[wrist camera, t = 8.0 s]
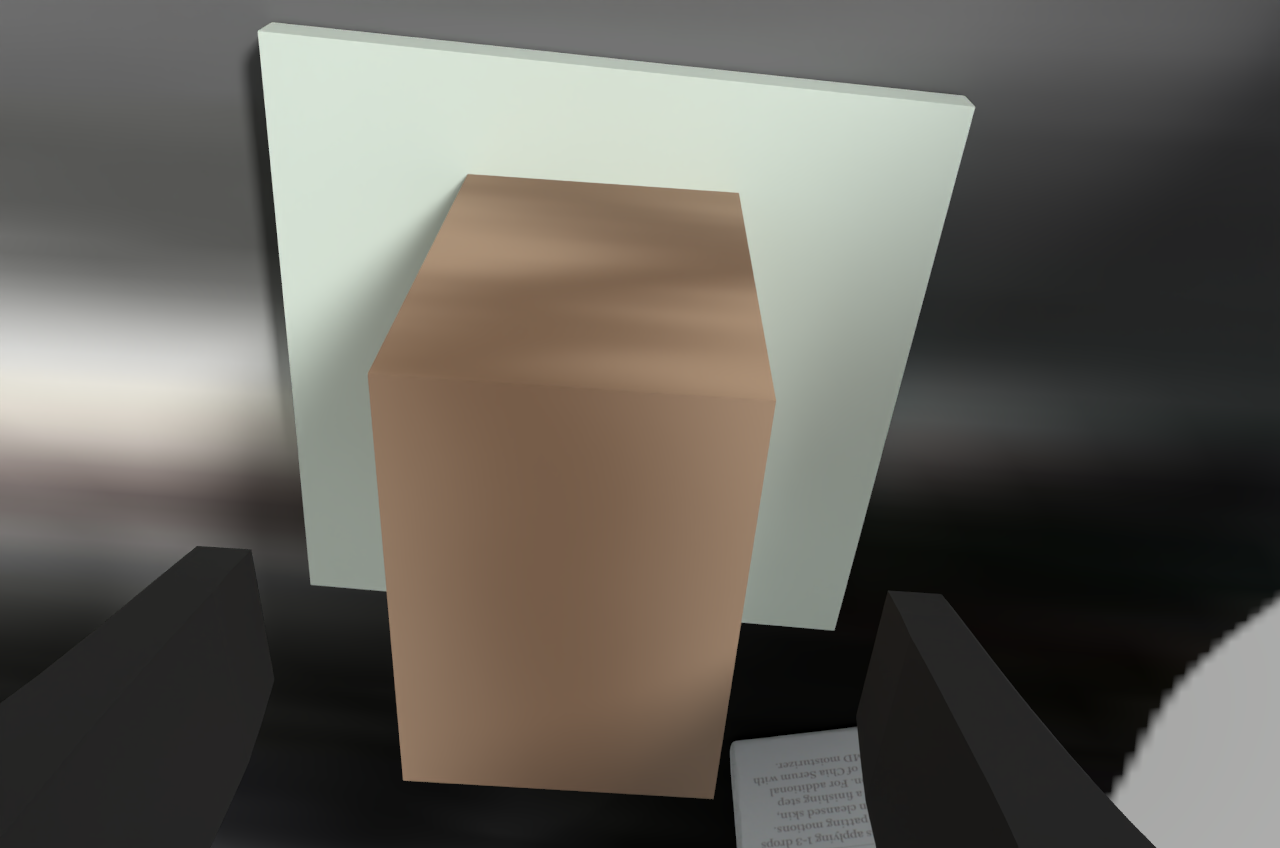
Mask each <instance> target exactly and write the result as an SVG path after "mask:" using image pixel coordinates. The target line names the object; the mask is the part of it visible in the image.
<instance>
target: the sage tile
mask: <svg viewBox="0 0 1280 848" xmlns="http://www.w3.org/2000/svg"><path fill="white" fill-rule="evenodd" d="M258 38H259V49H260V59H261V70H262V80H263V91H264V101H265V112H266V122H267V133H268V143H269V154H270V164H271V175H272V185H273V196H274V206H275V217H276V227H277V238H278V248H279V259H280V269H281V279H282V290H283V300H284V311H285V321H286V332H287V342H288V353H289V363H290V374H291V384H292V395H293V405H294V416H295V426H296V437H297V447H298V458H299V468H300V479H301V489H302V500H303V510H304V521H305V531H306V541H307V552H308V562H309V573H310V583H311V585H319V586H330V587H342V588H353V589H364V590H376V591H387V590H386V579H385V568H384V556H383V545H382V533H381V522H380V510H379V499H378V488H377V476H376V465H375V453H374V442H373V431H372V419H371V408H370V396H369V385H368V372H369V370H370V368H371V366H372V364H373V362H374V360H375V358H376V356H377V354H378V352H379V350H380V348H381V346H382V344H383V342H384V340H385V338H386V336H387V334H388V332H389V330H390V328H391V326H392V324H393V322H394V320H395V318H396V316H397V314H398V312H399V310H400V308H401V306H402V304H403V302H404V300H405V298H406V296H407V294H408V292H409V290H410V288H411V286H412V284H413V282H414V280H415V278H416V276H417V274H418V272H419V270H420V268H421V266H422V264H423V262H424V260H425V258H426V256H427V254H428V252H429V250H430V248H431V246H432V244H433V242H434V240H435V238H436V236H437V234H438V232H439V230H440V228H441V226H442V224H443V222H444V220H445V218H446V216H447V214H448V212H449V210H450V208H451V206H452V204H453V202H454V200H455V198H456V196H457V194H458V192H459V190H460V188H461V186H462V184H463V182H464V180H465V178H466V176H467V174H476V175H490V176H504V177H519V178H533V179H547V180H562V181H576V182H590V183H605V184H619V185H634V186H648V187H662V188H677V189H691V190H705V191H720V192H734V193H739V197H740V202H741V208H742V213H743V219H744V224H745V230H746V236H747V241H748V247H749V252H750V258H751V263H752V269H753V275H754V280H755V286H756V291H757V297H758V302H759V308H760V314H761V319H762V325H763V330H764V336H765V341H766V347H767V353H768V358H769V364H770V369H771V375H772V380H773V386H774V392H775V397H776V405H775V411H774V417H773V424H772V430H771V437H770V443H769V449H768V456H767V462H766V468H765V475H764V481H763V487H762V494H761V500H760V506H759V513H758V519H757V526H756V532H755V538H754V545H753V551H752V557H751V564H750V570H749V576H748V583H747V589H746V595H745V602H744V608H743V614H742V621H741V623H753V624H764V625H776V626H787V627H798V628H810V629H821V630H833V631H834V630H835V627H836V623H837V619H838V615H839V612H840V608H841V604H842V601H843V597H844V593H845V589H846V586H847V582H848V578H849V574H850V571H851V567H852V563H853V560H854V556H855V552H856V548H857V545H858V541H859V537H860V534H861V530H862V526H863V522H864V519H865V515H866V511H867V508H868V504H869V500H870V496H871V493H872V489H873V485H874V481H875V478H876V474H877V470H878V467H879V463H880V459H881V455H882V452H883V448H884V444H885V441H886V437H887V433H888V429H889V426H890V422H891V418H892V415H893V411H894V407H895V403H896V400H897V396H898V392H899V389H900V385H901V381H902V377H903V374H904V370H905V366H906V362H907V359H908V355H909V351H910V348H911V344H912V340H913V336H914V333H915V329H916V325H917V322H918V318H919V314H920V310H921V307H922V303H923V299H924V296H925V292H926V288H927V284H928V281H929V277H930V273H931V269H932V266H933V262H934V258H935V255H936V251H937V247H938V243H939V240H940V236H941V232H942V229H943V225H944V221H945V217H946V214H947V210H948V206H949V203H950V199H951V195H952V191H953V188H954V184H955V180H956V176H957V173H958V169H959V165H960V162H961V158H962V154H963V150H964V147H965V143H966V139H967V136H968V132H969V128H970V124H971V121H972V117H973V113H974V110H975V106H974V105H973V104H972V103H971V102H970V101H969V100H968V99H967V98H966V97H965V96H962V95H952V94H943V93H934V92H924V91H915V90H905V89H896V88H886V87H877V86H868V85H858V84H849V83H839V82H830V81H820V80H811V79H802V78H792V77H783V76H773V75H764V74H755V73H745V72H736V71H726V70H717V69H707V68H698V67H689V66H679V65H670V64H660V63H651V62H642V61H632V60H623V59H613V58H604V57H594V56H585V55H576V54H566V53H557V52H547V51H538V50H529V49H519V48H510V47H500V46H491V45H481V44H472V43H463V42H453V41H444V40H434V39H425V38H416V37H406V36H397V35H387V34H378V33H368V32H359V31H350V30H340V29H331V28H321V27H312V26H303V25H293V24H284V23H274V22H272V23H270V24H268V25H267V26H265V27H263V28H262V29H260V30H259V31H258Z"/></svg>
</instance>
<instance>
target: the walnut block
mask: <svg viewBox="0 0 1280 848" xmlns="http://www.w3.org/2000/svg"><path fill="white" fill-rule="evenodd" d="M368 385H369V396H370V408H371V419H372V431H373V442H374V453H375V465H376V476H377V488H378V499H379V510H380V522H381V533H382V545H383V556H384V568H385V579H386V590H387V602H388V613H389V625H390V636H391V647H392V659H393V670H394V682H395V693H396V705H397V716H398V727H399V739H400V750H401V762H402V773H403V781H420V782H436V783H453V784H470V785H487V786H504V787H520V788H537V789H554V790H571V791H587V792H604V793H621V794H638V795H654V796H671V797H688V798H705V799H714V792H715V786H716V780H717V773H718V767H719V761H720V754H721V748H722V742H723V735H724V729H725V722H726V716H727V710H728V703H729V697H730V691H731V684H732V678H733V672H734V665H735V659H736V653H737V646H738V640H739V634H740V627H741V621H742V614H743V608H744V602H745V595H746V589H747V583H748V576H749V570H750V564H751V557H752V551H753V545H754V538H755V532H756V526H757V519H758V513H759V506H760V500H761V494H762V487H763V481H764V475H765V468H766V462H767V456H768V449H769V443H770V437H771V430H772V424H773V417H774V411H775V405H776V397H775V392H774V386H773V380H772V375H771V369H770V364H769V358H768V353H767V347H766V341H765V336H764V330H763V325H762V319H761V314H760V308H759V302H758V297H757V291H756V286H755V280H754V275H753V269H752V263H751V258H750V252H749V247H748V241H747V236H746V230H745V224H744V219H743V213H742V208H741V202H740V197H739V193H734V192H720V191H705V190H691V189H677V188H662V187H648V186H634V185H619V184H605V183H590V182H576V181H562V180H547V179H533V178H519V177H504V176H490V175H476V174H467V176H466V178H465V180H464V182H463V184H462V186H461V188H460V190H459V192H458V194H457V196H456V198H455V200H454V202H453V204H452V206H451V208H450V210H449V212H448V214H447V216H446V218H445V220H444V222H443V224H442V226H441V228H440V230H439V232H438V234H437V236H436V238H435V240H434V242H433V244H432V246H431V248H430V250H429V252H428V254H427V256H426V258H425V260H424V262H423V264H422V266H421V268H420V270H419V272H418V274H417V276H416V278H415V280H414V282H413V284H412V286H411V288H410V290H409V292H408V294H407V296H406V298H405V300H404V302H403V304H402V306H401V308H400V310H399V312H398V314H397V316H396V318H395V320H394V322H393V324H392V326H391V328H390V330H389V332H388V334H387V336H386V338H385V340H384V342H383V344H382V346H381V348H380V350H379V352H378V354H377V356H376V358H375V360H374V362H373V364H372V366H371V368H370V370H369V372H368Z"/></svg>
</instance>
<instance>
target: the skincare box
mask: <svg viewBox="0 0 1280 848" xmlns="http://www.w3.org/2000/svg"><path fill="white" fill-rule="evenodd" d="M730 765H731V780H732V792H733V805H734V817H735V829H736V841H737V848H876V845H875V841H874V836H873V832H872V828H871V823H870V819H869V815H868V810H867V806H866V801H865V793H864V785H863V777H862V768H861V760H860V750H859V740H858V730H857V727H850V728H842V729H834V730H826V731H818V732H808V733H799V734H791V735H783V736H775V737H766V738H757V739H747V740H738V741H734V742H733V743H732V744H731V747H730Z"/></svg>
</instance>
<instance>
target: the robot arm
mask: <svg viewBox="0 0 1280 848" xmlns="http://www.w3.org/2000/svg"><path fill="white" fill-rule="evenodd" d="M273 683H274V674H273V669H272V663H271V658H270V652H269V646H268V641H267V635H266V630H265V624H264V618H263V613H262V607H261V602H260V596H259V590H258V585H257V579H256V574H255V568H254V562H253V557H252V551H251V550H248V549H233V548H217V547H202V546H197V547H196V548H194V549H193V550H192V551H191V552H189V553H188V554H187V555H185V556H184V557H183V558H182V559H180V560H179V561H178V562H177V563H176V564H174V565H173V566H172V567H171V568H170V569H168V570H167V571H166V572H165V573H163V574H162V575H161V576H160V577H159V578H157V579H156V580H155V581H154V582H153V583H151V584H150V585H149V586H148V587H146V588H145V589H144V590H143V591H142V592H140V593H139V594H138V595H137V596H136V597H134V598H133V599H132V600H131V601H130V602H128V603H127V604H126V605H125V606H124V607H122V608H121V609H120V610H119V611H117V612H116V613H115V614H114V615H113V616H111V617H110V618H109V619H108V620H107V621H105V622H104V623H103V624H102V625H100V626H99V627H98V628H97V629H96V630H94V631H93V632H92V633H91V634H89V635H88V636H87V637H86V638H84V639H83V640H82V641H81V642H79V643H78V644H77V645H76V646H74V647H73V648H72V649H71V650H69V651H68V652H67V653H66V654H64V655H63V656H62V657H61V658H59V659H58V660H57V661H56V662H54V663H53V664H52V665H51V666H49V667H48V668H47V669H46V670H44V671H43V672H42V673H41V674H39V675H38V676H37V677H35V678H34V679H32V680H31V681H30V682H28V683H27V684H26V685H24V686H23V687H22V688H20V689H19V690H18V691H16V692H15V693H13V694H12V695H11V696H9V697H8V698H7V699H5V700H4V701H3V702H1V703H0V848H210V847H211V845H212V843H213V841H214V839H215V836H216V834H217V832H218V830H219V828H220V826H221V823H222V821H223V819H224V817H225V815H226V812H227V810H228V808H229V806H230V803H231V801H232V799H233V797H234V795H235V792H236V790H237V788H238V786H239V784H240V781H241V779H242V777H243V774H244V772H245V770H246V768H247V765H248V763H249V760H250V757H251V754H252V751H253V748H254V745H255V742H256V739H257V736H258V733H259V729H260V726H261V723H262V720H263V716H264V713H265V710H266V706H267V703H268V700H269V696H270V693H271V690H272V686H273ZM856 720H857V730H858V740H859V750H860V760H861V768H862V777H863V785H864V793H865V801H866V806H867V810H868V815H869V819H870V823H871V828H872V832H873V836H874V841H875V845H876V848H1156V847H1155V846H1154V845H1153V844H1152V843H1151V842H1150V841H1149V840H1148V839H1147V838H1146V837H1145V836H1144V835H1143V834H1142V833H1141V832H1140V831H1139V830H1138V829H1137V828H1136V827H1135V826H1134V825H1133V824H1132V823H1131V822H1130V821H1129V820H1128V819H1127V818H1126V816H1125V815H1124V814H1123V813H1122V812H1121V811H1120V810H1119V809H1118V808H1117V807H1116V806H1115V805H1114V803H1113V802H1112V801H1111V800H1110V799H1109V798H1108V797H1107V796H1106V795H1105V794H1104V793H1103V792H1102V791H1101V789H1100V788H1099V787H1098V786H1097V785H1096V784H1095V783H1094V782H1093V781H1092V780H1091V779H1090V777H1089V776H1088V775H1087V774H1086V773H1085V772H1084V771H1083V769H1082V768H1081V767H1080V766H1079V765H1078V764H1077V763H1076V761H1075V760H1074V759H1073V758H1072V757H1071V756H1070V755H1069V753H1068V752H1067V751H1066V750H1065V749H1064V747H1063V746H1062V745H1061V744H1060V743H1059V741H1058V740H1057V739H1056V738H1055V737H1054V736H1053V734H1052V733H1051V732H1050V731H1049V730H1048V728H1047V727H1046V726H1045V725H1044V724H1043V722H1042V721H1041V720H1040V719H1039V718H1038V716H1037V715H1036V714H1035V713H1034V712H1033V710H1032V709H1031V708H1030V707H1029V706H1028V704H1027V703H1026V702H1025V701H1024V699H1023V698H1022V697H1021V696H1020V694H1019V693H1018V692H1017V691H1016V689H1015V688H1014V687H1013V686H1012V684H1011V683H1010V682H1009V680H1008V679H1007V678H1006V677H1005V675H1004V674H1003V673H1002V671H1001V670H1000V669H999V668H998V666H997V665H996V664H995V663H994V661H993V660H992V659H991V657H990V656H989V655H988V653H987V652H986V651H985V650H984V648H983V647H982V646H981V644H980V643H979V642H978V640H977V639H976V638H975V636H974V635H973V634H972V633H971V631H970V630H969V629H968V627H967V626H966V625H965V623H964V622H963V621H962V619H961V618H960V617H959V616H958V614H957V613H956V612H955V610H954V609H953V608H952V607H951V605H950V604H949V603H948V602H947V600H946V599H945V598H944V597H943V595H942V594H933V593H918V592H902V591H888V592H887V596H886V600H885V604H884V608H883V612H882V615H881V619H880V623H879V627H878V631H877V635H876V639H875V643H874V647H873V651H872V655H871V659H870V663H869V667H868V671H867V675H866V679H865V683H864V687H863V691H862V695H861V699H860V703H859V707H858V711H857V715H856Z"/></svg>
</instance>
